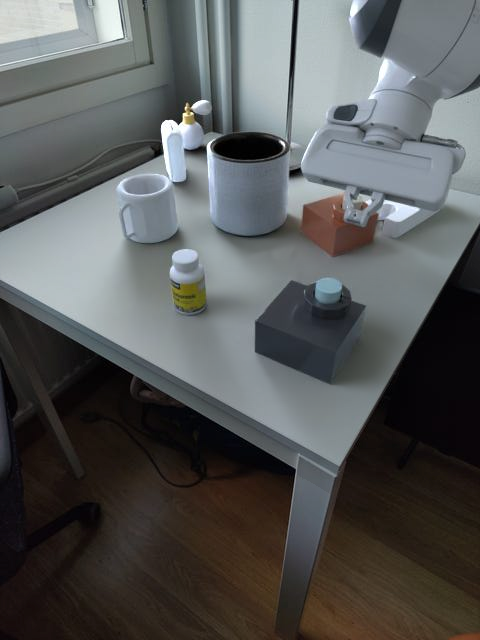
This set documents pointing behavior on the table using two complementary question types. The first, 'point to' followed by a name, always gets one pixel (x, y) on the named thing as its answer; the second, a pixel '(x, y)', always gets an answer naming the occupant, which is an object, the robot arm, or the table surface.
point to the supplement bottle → (188, 282)
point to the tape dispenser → (400, 217)
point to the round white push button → (356, 203)
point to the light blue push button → (328, 290)
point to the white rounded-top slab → (173, 151)
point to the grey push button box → (309, 330)
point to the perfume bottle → (193, 125)
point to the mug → (147, 208)
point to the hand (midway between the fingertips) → (353, 223)
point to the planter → (248, 182)
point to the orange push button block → (335, 226)
